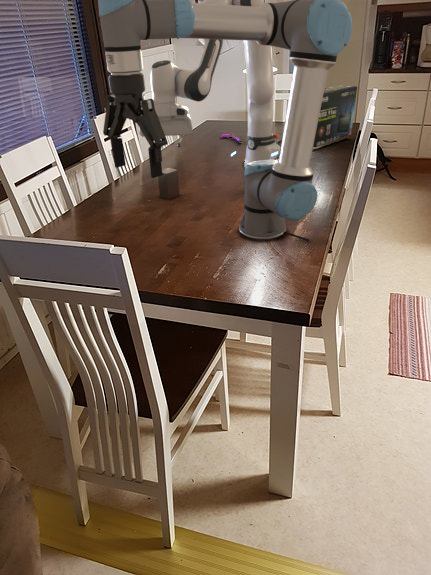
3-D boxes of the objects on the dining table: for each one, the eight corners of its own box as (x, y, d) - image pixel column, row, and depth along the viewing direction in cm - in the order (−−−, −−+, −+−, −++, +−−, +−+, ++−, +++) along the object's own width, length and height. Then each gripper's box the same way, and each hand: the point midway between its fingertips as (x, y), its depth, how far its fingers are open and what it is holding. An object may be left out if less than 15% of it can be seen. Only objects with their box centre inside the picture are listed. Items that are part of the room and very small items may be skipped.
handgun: (221, 137, 264) (220, 133, 263) (234, 136, 265) (233, 132, 264) (228, 145, 247) (228, 142, 246) (242, 144, 248) (242, 140, 247)
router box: (314, 151, 231) (318, 94, 217) (296, 148, 237) (299, 92, 224) (352, 138, 251) (358, 85, 238) (335, 135, 258) (340, 83, 245)
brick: (159, 196, 182) (157, 171, 177) (170, 192, 186) (168, 167, 180) (168, 199, 179) (166, 173, 174) (179, 195, 183) (177, 169, 177)
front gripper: (78, 72, 103) (94, 165, 114) (150, 78, 88) (161, 185, 99) (105, 68, 108) (118, 159, 118) (178, 73, 93) (185, 176, 104)
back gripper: (136, 112, 167) (139, 150, 174) (192, 110, 168) (193, 148, 176) (137, 108, 173) (140, 146, 180) (191, 107, 174) (192, 144, 181)
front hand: (138, 171), depth 109 cm, fingers open, 13 cm apart
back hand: (167, 147), depth 178 cm, fingers open, 8 cm apart
